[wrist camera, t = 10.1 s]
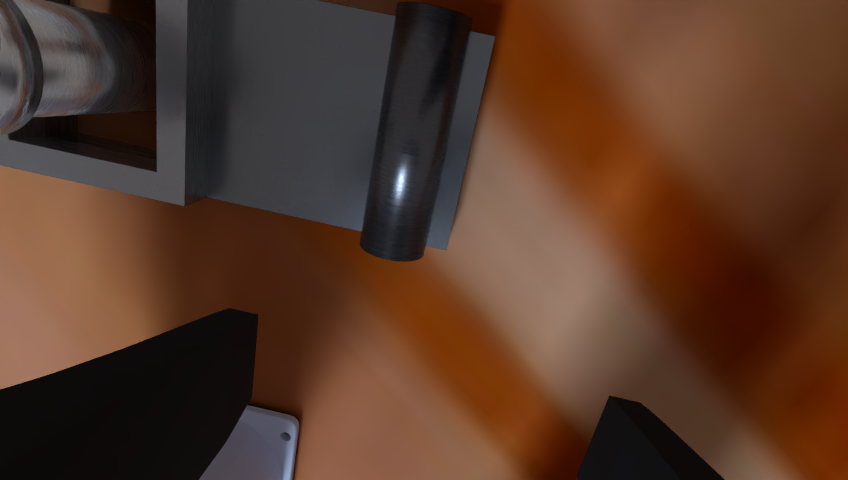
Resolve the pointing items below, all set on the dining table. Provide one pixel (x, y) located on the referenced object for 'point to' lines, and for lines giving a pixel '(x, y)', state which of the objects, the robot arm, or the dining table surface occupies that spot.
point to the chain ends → (296, 117)
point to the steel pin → (72, 62)
